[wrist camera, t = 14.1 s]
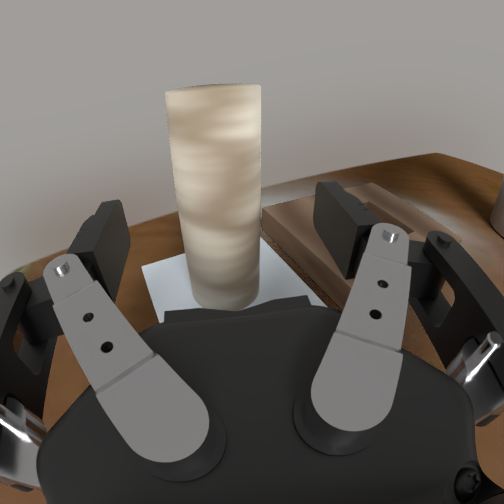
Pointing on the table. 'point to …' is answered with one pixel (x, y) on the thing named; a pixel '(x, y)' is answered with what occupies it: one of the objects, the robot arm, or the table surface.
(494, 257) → the table surface
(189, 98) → the birch post
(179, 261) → the white square tile
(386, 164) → the table surface
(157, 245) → the table surface
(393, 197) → the walnut pocket board
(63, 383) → the table surface
